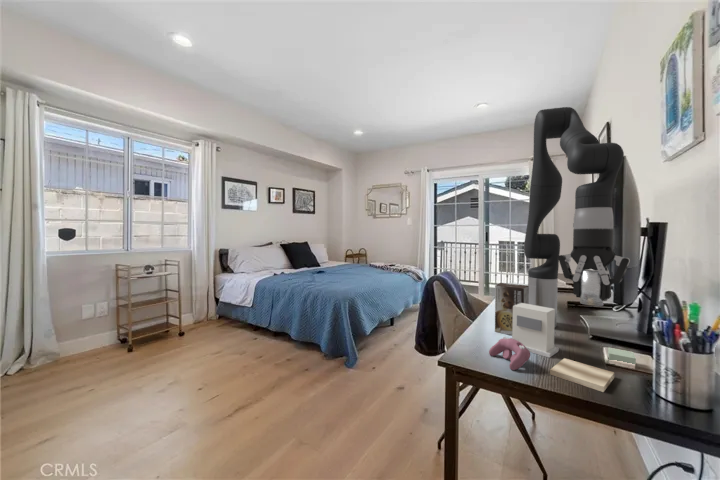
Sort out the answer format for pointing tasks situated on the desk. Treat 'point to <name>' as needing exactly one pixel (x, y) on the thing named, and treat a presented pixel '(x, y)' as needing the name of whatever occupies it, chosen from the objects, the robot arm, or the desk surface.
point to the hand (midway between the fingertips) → (591, 298)
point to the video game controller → (507, 347)
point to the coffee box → (508, 304)
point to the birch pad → (583, 374)
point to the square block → (621, 355)
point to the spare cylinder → (591, 288)
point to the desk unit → (535, 328)
